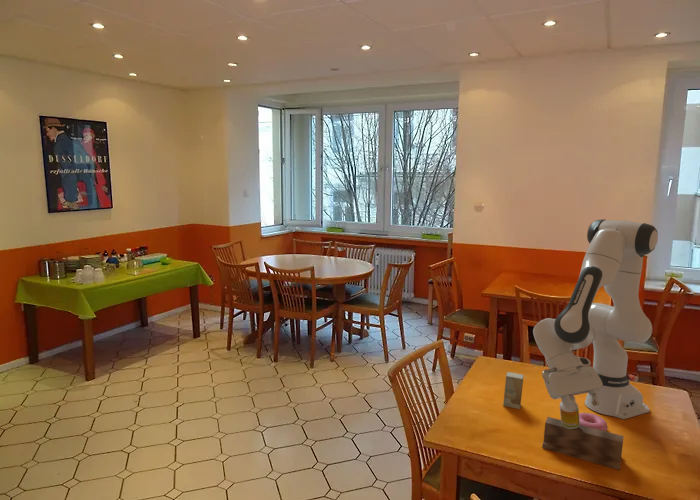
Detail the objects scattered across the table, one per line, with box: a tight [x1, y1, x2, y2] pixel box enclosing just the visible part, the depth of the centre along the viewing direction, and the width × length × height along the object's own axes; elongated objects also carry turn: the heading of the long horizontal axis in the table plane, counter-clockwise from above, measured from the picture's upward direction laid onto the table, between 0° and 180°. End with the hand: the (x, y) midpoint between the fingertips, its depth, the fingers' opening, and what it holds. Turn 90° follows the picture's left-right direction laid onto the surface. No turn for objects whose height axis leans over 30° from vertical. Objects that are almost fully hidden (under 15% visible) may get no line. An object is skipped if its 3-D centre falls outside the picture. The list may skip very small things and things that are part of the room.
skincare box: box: [502, 371, 524, 410], centre depth 184 cm, size 6×4×12 cm
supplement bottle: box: [559, 395, 580, 429], centre depth 154 cm, size 5×5×10 cm
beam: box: [541, 416, 625, 471], centre depth 154 cm, size 22×8×8 cm, turn 59°
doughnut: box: [579, 412, 609, 432], centre depth 169 cm, size 11×11×4 cm
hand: (586, 407), depth 151 cm, fingers open, 8 cm apart
